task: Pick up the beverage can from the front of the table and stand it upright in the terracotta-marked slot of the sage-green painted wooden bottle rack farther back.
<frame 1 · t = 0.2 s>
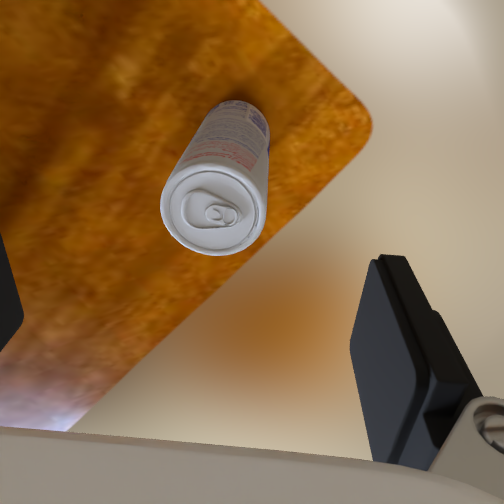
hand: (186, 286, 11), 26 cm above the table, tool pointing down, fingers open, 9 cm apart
beverage can: (236, 133, 34), on the table
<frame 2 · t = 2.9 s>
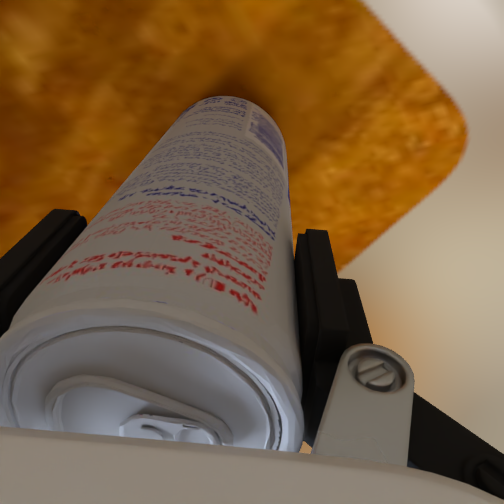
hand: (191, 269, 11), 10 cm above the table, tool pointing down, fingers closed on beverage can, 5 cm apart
beverage can: (228, 153, 20), on the table, touching gripper
when the fingers open (11 cm above the table, at t = 11.4 s): beverage can stays where it is, resting on rack.
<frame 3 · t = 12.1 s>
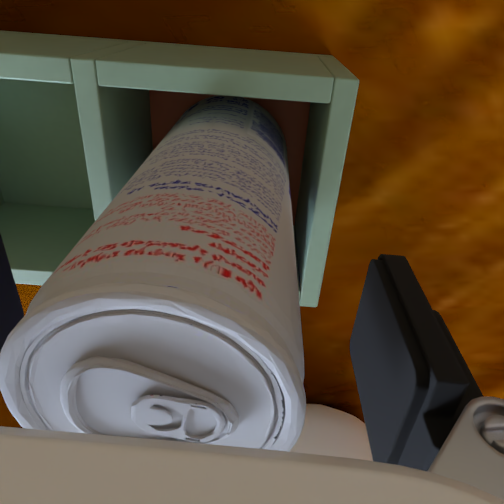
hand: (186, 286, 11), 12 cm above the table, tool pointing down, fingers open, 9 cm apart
white vase: (304, 434, 33), on the table
beverage can: (229, 151, 20), point 1 cm above the table, touching rack
rack: (148, 140, 21), on the table
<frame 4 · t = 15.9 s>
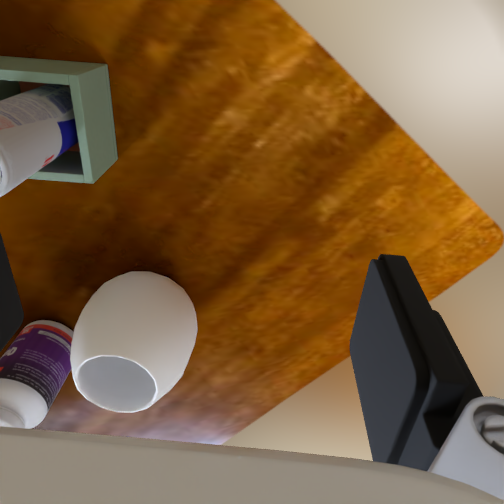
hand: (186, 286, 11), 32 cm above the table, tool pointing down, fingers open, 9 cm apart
white vase: (151, 300, 52), on the table
beverage can: (64, 112, 40), point 1 cm above the table, touching rack
pill bottle: (54, 337, 57), on the table
rack: (25, 107, 40), on the table
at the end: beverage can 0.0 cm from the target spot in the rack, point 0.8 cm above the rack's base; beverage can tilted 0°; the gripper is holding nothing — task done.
